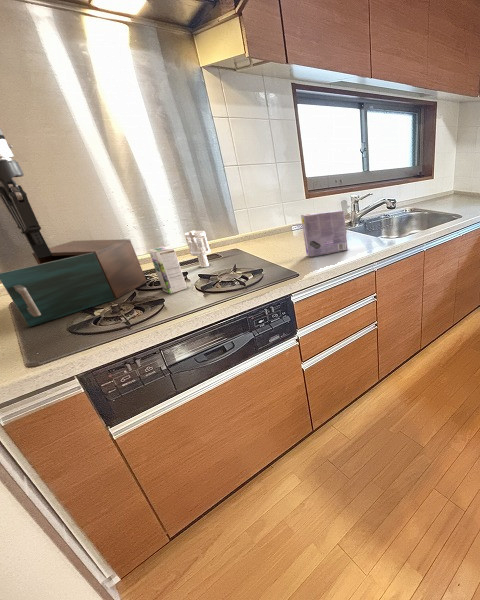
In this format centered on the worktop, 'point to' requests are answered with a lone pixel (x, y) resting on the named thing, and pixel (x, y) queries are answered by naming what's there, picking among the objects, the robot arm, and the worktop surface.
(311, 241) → the purple printed carton
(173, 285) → the syrup box
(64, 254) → the cupboard
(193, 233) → the white slotted fitting
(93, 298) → the cupboard door
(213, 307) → the worktop surface
